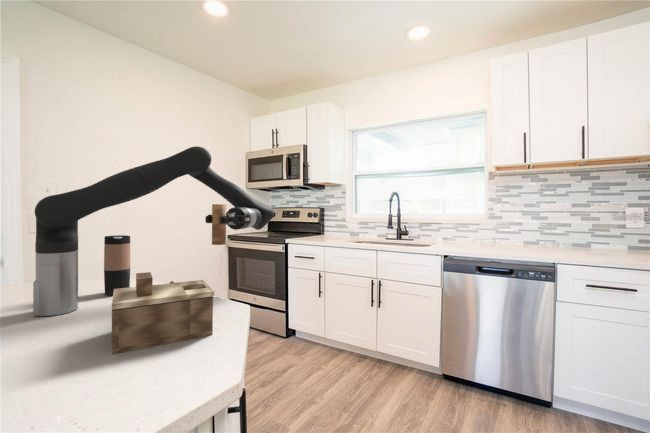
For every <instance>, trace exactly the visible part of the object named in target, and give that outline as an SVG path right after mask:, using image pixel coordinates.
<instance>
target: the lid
mask: <svg viewBox="0 0 650 433" xmlns="http://www.w3.org/2000/svg"><path fill="white" fill-rule="evenodd" d="M135 275H136V276H135V277H136V278H135V283H136V284H135V286H131V287H129V288H119V289H114V292H113V296H112V300H111V311H112V310H114V309H122V308H129V307H137V306H144V305H152V304H160V303H167V302H175V301H182V300H190V299H197V298H205V297H215V290H214V289H213V288H212V287H211V286H210V285H208V284H207V283H206V282H205V281H204V280H203V279H201V280H200V279H199V280H189V281H188V280H187V281H181V282H174V283H170V282H168V283H160V284H153V282H154V280H153V279H154V278H153V275H152V272H150V271H149V272H148V271H147V272H138V273H135ZM198 288H201V289H198ZM189 289H193V290H189Z"/></svg>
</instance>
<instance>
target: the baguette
mask: <svg viewBox="0 0 650 433" xmlns="http://www.w3.org/2000/svg"><path fill="white" fill-rule="evenodd" d="M226 213H227V204H217V203H216V204H215V203H214V204H211V215H212V223H211V245H212V246H222V245H223V246H224V245H227V225H226V223H225V224H220V216H226Z"/></svg>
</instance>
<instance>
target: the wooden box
mask: <svg viewBox="0 0 650 433" xmlns="http://www.w3.org/2000/svg"><path fill="white" fill-rule="evenodd" d="M198 289H201V288H198ZM189 290H193V289H189ZM213 311H214V296H212V297H205V298H197V299H190V300H182V301H175V302H167V303H160V304H152V305H144V306H137V307H129V308H122V309H114V310H112V309H111V355H116V354H121V353H126V352H132V351H135V350H136V351H137V350H140V349H141V350H142V349H146V348H151V347H157V346H160V345H161V346H162V345H168V344H171V343H177V342H181V341H186V340H192V339H198V338H202V337H207V336H212V335H213V331H214V330H213V325H214V324H213V323H214V322H213V315H214V312H213Z"/></svg>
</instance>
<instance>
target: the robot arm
mask: <svg viewBox="0 0 650 433" xmlns="http://www.w3.org/2000/svg"><path fill="white" fill-rule="evenodd" d="M211 164H212V155H211V153H210V151H209V150H208V149H206V148H205V147H202V146H197V145H196V146H191V147H188V148H186V149H184V150H182V151H180V152H177V153H176V154H174V155H171V156H168V157H165V158H162V159H159V160H155V161H151V162H148V163H145V164H142V165H139V166H136V167H132V168H128V169H126V170H123V171H120V172H118V173H115V174H113V175H110V176H107V177H105V178H103V179H102V180H99V181H97V182H95V183H93V184H90V185H88V186H85V187H82V188H78V189H75V190H71V191H67V192H63V193H59V194H53V195H48V196H45V197H42V199H40V200H39V201H38V202H37V203H36V205H35V208H34V216H35V220H36V221H35V230H36V231H35V243H34V244H35V246H34V247H35V280H34V281H33V286H32V287H33V288H32V290H33V291H32V292H33V293H32V295H33V296H32V298H33V300H32V301H33V302H32V303H33V304H32V307H33V308H32V310H33V313H32V314H33V315H32V317H49V316H59V315H64V314H67V313H72V312H74V311H76V310H78V308H79V233H78V232H79V221H80V220H81V219H83V218H85V217H88V216H89V215H91V214H94V213H96V212H98V211H100V210H103V209H106V208H110V207H114V206H117V205H121V204H124V203H127V202H131V201H135V200H136V199H139V198H142V197H145V196H147V195H149V194H152V193H154V192H155V191H157V190H159V189H161V188H163V187H164V186H166V185H167V184H169V183H171V182H172V181H174V180H176V179H178V178H181V177H184V176H187V175H189V176H190V177H192V178H193V179H196V180H197V181H198V182H200V183H202V184H203V185H204V186H206V187H208V188H209V189H211V190H212V191H214V192H215V193H217V194H218V195H219V196H221V197H222V198H223V199H225V200H226V201H227V202H229V204H231V205H232V206H233V207H231V208H229V209H228V210H227V211H226V216H220V224H225V223H226V226H228V227H229V229H231V230H236V231H237V230H238V231H239V230H245V229H249V228H253V229H255V230H261V229H263V228H264V227H265V226H267V224H269V223H270V221H271V220H272V219H273V218H274V216H275V212H274V209H273V208H272V207H270V205H268V204H265V203H263V202H261V201H259V200H257V199H255V198H253V197H252V196H251V195H250V194H248V192H246V191H245V190H244V189H243V188H241V187H240V186H239V185H237V184H235V183H233V182H231V181H230V180H227V179H226V178H225V177H222V176H221V175H220V174H218V173H217V172H215V171H214V170H213V169H212V168H211V167H210V166H211ZM205 223H206V224H212V214H210V213H209V214H208V215H205Z"/></svg>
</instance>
